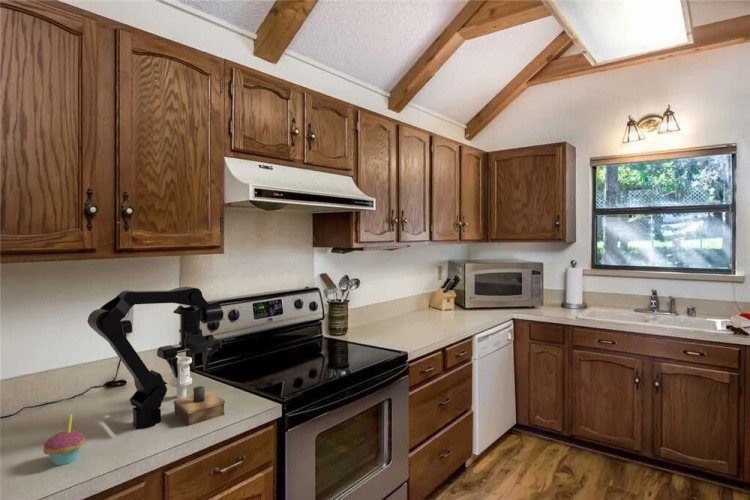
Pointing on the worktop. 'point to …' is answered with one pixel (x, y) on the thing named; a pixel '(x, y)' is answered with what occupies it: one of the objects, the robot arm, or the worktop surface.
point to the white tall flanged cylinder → (182, 376)
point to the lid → (198, 400)
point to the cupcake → (64, 445)
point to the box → (199, 414)
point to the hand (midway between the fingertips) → (190, 374)
